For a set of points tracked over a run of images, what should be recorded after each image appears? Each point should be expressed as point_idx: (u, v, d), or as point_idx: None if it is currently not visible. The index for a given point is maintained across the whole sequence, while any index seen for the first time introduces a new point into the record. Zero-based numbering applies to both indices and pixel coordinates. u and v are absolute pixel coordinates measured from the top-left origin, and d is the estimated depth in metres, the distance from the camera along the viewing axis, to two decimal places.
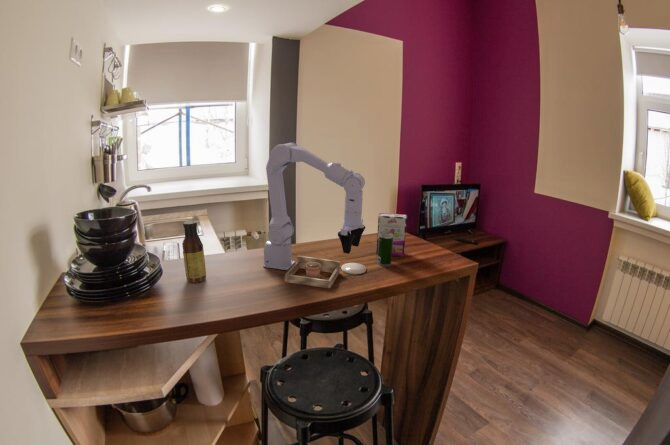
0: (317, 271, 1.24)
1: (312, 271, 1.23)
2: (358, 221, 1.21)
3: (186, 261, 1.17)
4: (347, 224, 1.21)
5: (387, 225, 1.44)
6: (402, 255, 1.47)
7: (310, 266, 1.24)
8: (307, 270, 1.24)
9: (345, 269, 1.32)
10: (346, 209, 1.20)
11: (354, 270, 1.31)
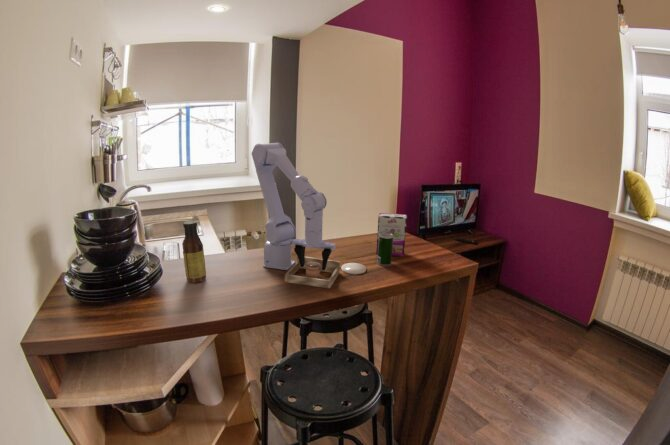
0: (317, 271, 1.24)
1: (312, 271, 1.23)
2: (307, 239, 1.20)
3: (186, 261, 1.17)
4: None
5: (387, 225, 1.44)
6: (402, 255, 1.47)
7: (310, 266, 1.24)
8: (307, 270, 1.24)
9: (345, 269, 1.32)
10: (305, 227, 1.21)
11: (354, 270, 1.31)
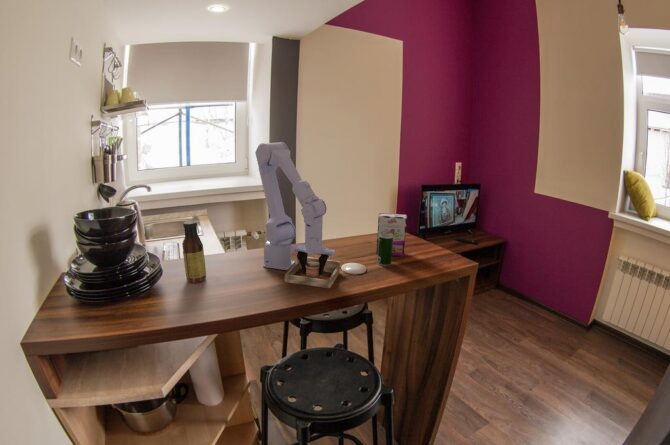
0: (317, 271, 1.24)
1: (312, 271, 1.23)
2: (307, 246, 1.21)
3: (186, 261, 1.17)
4: None
5: (387, 225, 1.44)
6: (402, 255, 1.47)
7: (310, 266, 1.24)
8: (307, 270, 1.24)
9: (345, 269, 1.32)
10: (305, 233, 1.21)
11: (354, 270, 1.31)
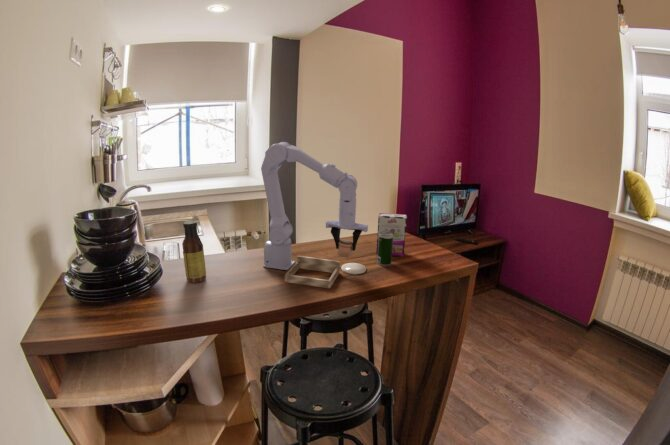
0: (349, 248, 1.27)
1: (344, 248, 1.27)
2: (341, 221, 1.24)
3: (186, 261, 1.17)
4: None
5: (387, 225, 1.44)
6: (402, 255, 1.47)
7: (343, 243, 1.27)
8: (340, 246, 1.28)
9: (345, 269, 1.32)
10: (341, 210, 1.24)
11: (354, 270, 1.31)
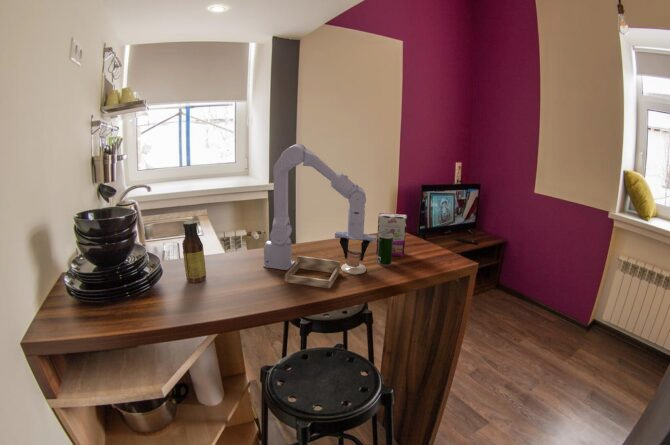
0: (358, 258, 1.30)
1: (353, 258, 1.30)
2: (350, 232, 1.28)
3: (186, 261, 1.17)
4: None
5: (387, 225, 1.44)
6: (402, 255, 1.47)
7: (352, 253, 1.30)
8: (348, 256, 1.31)
9: (345, 269, 1.32)
10: (351, 221, 1.26)
11: (354, 270, 1.31)
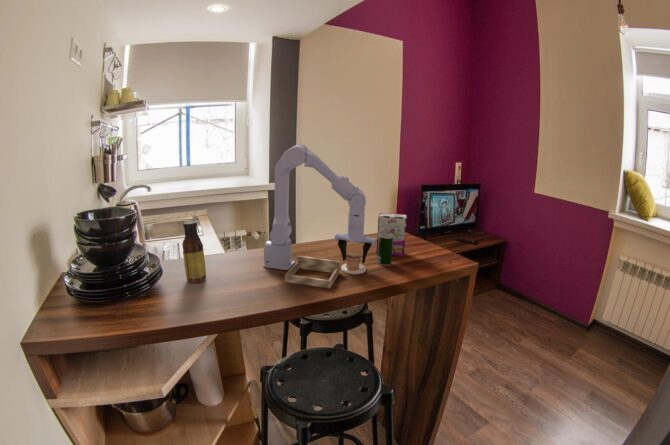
0: (357, 262, 1.31)
1: (352, 262, 1.30)
2: (350, 234, 1.28)
3: (186, 261, 1.17)
4: None
5: (387, 225, 1.44)
6: (402, 255, 1.47)
7: (350, 257, 1.31)
8: (347, 261, 1.31)
9: (345, 269, 1.32)
10: (350, 224, 1.27)
11: None
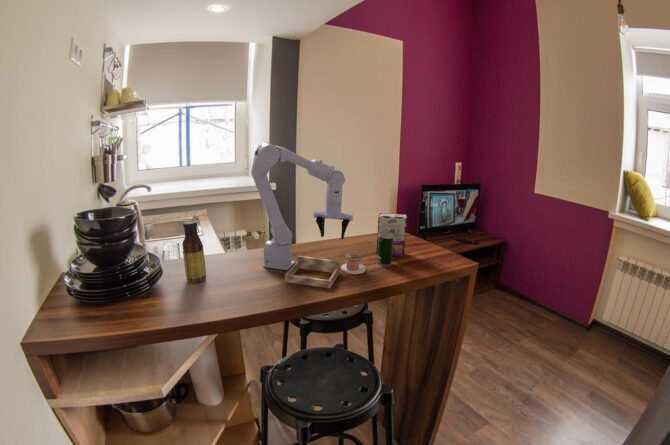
0: (357, 262, 1.31)
1: (352, 262, 1.30)
2: (328, 211, 1.33)
3: (186, 261, 1.17)
4: None
5: (387, 225, 1.44)
6: (402, 255, 1.47)
7: (350, 257, 1.31)
8: (347, 261, 1.31)
9: (345, 269, 1.32)
10: (331, 201, 1.32)
11: None
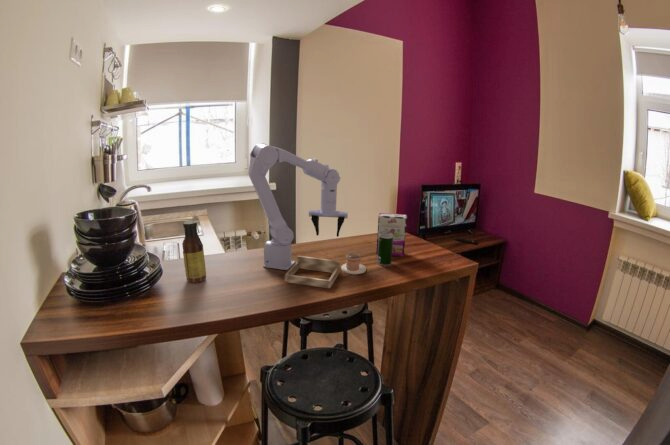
0: (357, 262, 1.31)
1: (352, 262, 1.30)
2: (324, 209, 1.35)
3: (186, 261, 1.17)
4: None
5: (387, 225, 1.44)
6: (402, 255, 1.47)
7: (350, 257, 1.31)
8: (347, 261, 1.31)
9: (345, 269, 1.32)
10: (327, 199, 1.34)
11: None
